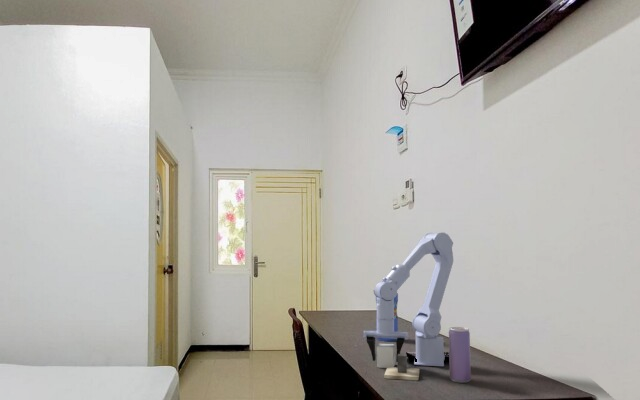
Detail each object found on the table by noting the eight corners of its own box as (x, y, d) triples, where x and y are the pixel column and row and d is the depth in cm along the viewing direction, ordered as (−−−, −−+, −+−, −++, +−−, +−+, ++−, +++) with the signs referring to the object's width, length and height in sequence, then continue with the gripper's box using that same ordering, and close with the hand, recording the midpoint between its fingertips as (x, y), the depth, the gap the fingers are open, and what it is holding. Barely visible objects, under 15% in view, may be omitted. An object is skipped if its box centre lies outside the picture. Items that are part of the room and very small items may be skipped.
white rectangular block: (394, 364, 165) (394, 344, 166) (393, 368, 160) (392, 347, 161) (378, 363, 166) (378, 343, 167) (377, 367, 161) (376, 346, 162)
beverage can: (467, 384, 142) (466, 331, 144) (447, 381, 145) (446, 329, 147) (473, 379, 147) (471, 327, 149) (453, 376, 150) (452, 326, 152)
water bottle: (402, 338, 210) (401, 278, 212) (392, 342, 202) (392, 280, 204) (381, 336, 215) (381, 277, 217) (372, 339, 207) (371, 279, 209)
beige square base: (419, 371, 156) (419, 352, 156) (418, 380, 146) (418, 359, 147) (387, 370, 158) (387, 350, 159) (384, 378, 148) (384, 357, 149)
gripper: (408, 317, 167) (408, 359, 166) (365, 316, 170) (365, 356, 169) (407, 320, 160) (407, 364, 159) (362, 319, 163) (362, 361, 162)
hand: (385, 360), depth 163 cm, fingers open, 7 cm apart
